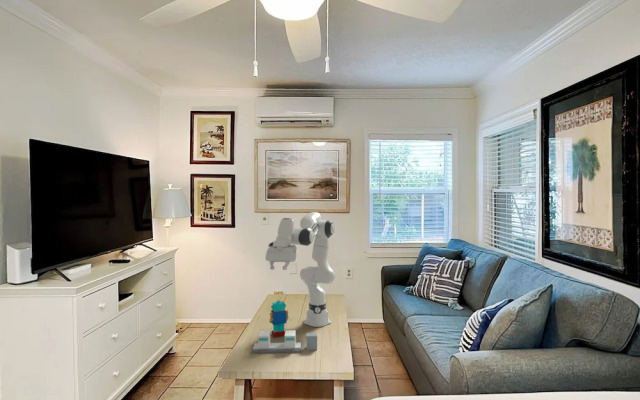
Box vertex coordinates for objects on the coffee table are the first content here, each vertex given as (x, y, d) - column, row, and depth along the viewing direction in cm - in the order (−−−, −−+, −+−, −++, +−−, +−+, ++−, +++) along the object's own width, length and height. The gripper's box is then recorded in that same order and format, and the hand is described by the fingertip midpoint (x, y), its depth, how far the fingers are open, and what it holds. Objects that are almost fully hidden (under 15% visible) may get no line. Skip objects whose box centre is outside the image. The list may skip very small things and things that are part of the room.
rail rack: (254, 345, 213) (254, 330, 213) (301, 344, 214) (301, 329, 213) (251, 353, 202) (251, 337, 202) (301, 352, 203) (301, 336, 202)
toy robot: (286, 332, 233) (286, 293, 232) (288, 335, 227) (288, 296, 226) (268, 334, 228) (268, 295, 228) (270, 338, 223) (270, 298, 222)
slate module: (306, 346, 210) (306, 333, 210) (316, 346, 210) (316, 333, 210) (306, 350, 206) (306, 336, 206) (317, 349, 206) (317, 336, 206)
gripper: (300, 246, 198) (296, 271, 193) (273, 247, 210) (268, 270, 205) (293, 243, 193) (288, 268, 189) (266, 244, 206) (261, 267, 201)
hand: (278, 269), depth 197 cm, fingers open, 8 cm apart
